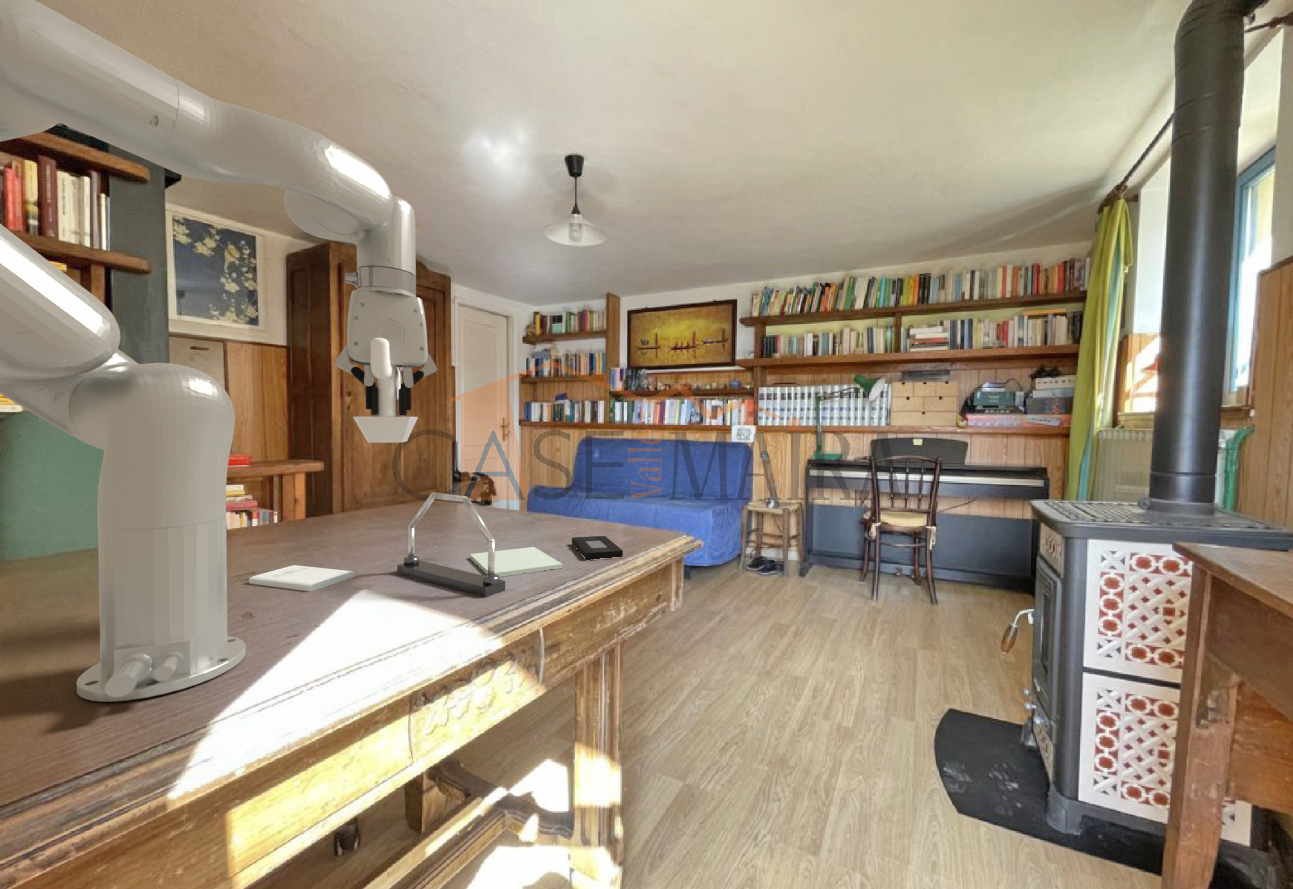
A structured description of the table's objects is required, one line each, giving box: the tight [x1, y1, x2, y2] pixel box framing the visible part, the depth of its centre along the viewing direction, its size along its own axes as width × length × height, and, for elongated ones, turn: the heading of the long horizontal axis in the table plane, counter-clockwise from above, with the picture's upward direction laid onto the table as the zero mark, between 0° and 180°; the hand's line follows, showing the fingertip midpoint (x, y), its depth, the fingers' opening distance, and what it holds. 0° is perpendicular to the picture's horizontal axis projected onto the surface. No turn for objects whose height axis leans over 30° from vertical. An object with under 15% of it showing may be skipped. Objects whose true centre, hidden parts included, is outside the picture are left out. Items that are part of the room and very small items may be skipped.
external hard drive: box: [248, 564, 355, 592], centre depth 84 cm, size 2×8×12 cm
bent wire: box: [396, 492, 506, 598], centre depth 84 cm, size 22×4×14 cm, turn 59°
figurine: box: [352, 338, 419, 444], centre depth 74 cm, size 7×9×15 cm
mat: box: [469, 546, 563, 578], centre depth 96 cm, size 15×13×1 cm
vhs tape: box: [571, 535, 624, 561], centre depth 107 cm, size 8×14×2 cm, turn 19°
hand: (388, 413), depth 74 cm, fingers closed on figurine, 3 cm apart
